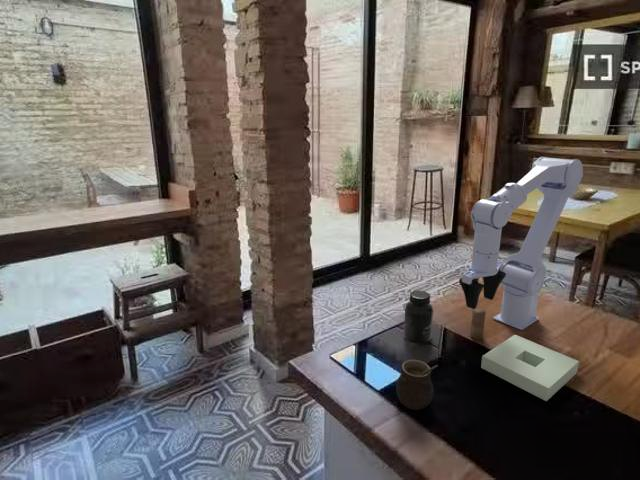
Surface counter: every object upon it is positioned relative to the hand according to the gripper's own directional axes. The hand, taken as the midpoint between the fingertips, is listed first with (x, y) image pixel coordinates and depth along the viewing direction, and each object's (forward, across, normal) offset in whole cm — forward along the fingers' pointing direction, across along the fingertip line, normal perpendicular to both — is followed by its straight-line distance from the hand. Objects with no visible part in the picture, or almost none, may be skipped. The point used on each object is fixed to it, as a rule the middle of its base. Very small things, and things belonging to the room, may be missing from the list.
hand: (480, 302), depth 98 cm
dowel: (+9, 0, 0) cm, 9 cm away
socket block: (+9, +4, +15) cm, 18 cm away
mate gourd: (+10, +31, +6) cm, 33 cm away
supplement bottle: (+10, +12, -9) cm, 18 cm away
